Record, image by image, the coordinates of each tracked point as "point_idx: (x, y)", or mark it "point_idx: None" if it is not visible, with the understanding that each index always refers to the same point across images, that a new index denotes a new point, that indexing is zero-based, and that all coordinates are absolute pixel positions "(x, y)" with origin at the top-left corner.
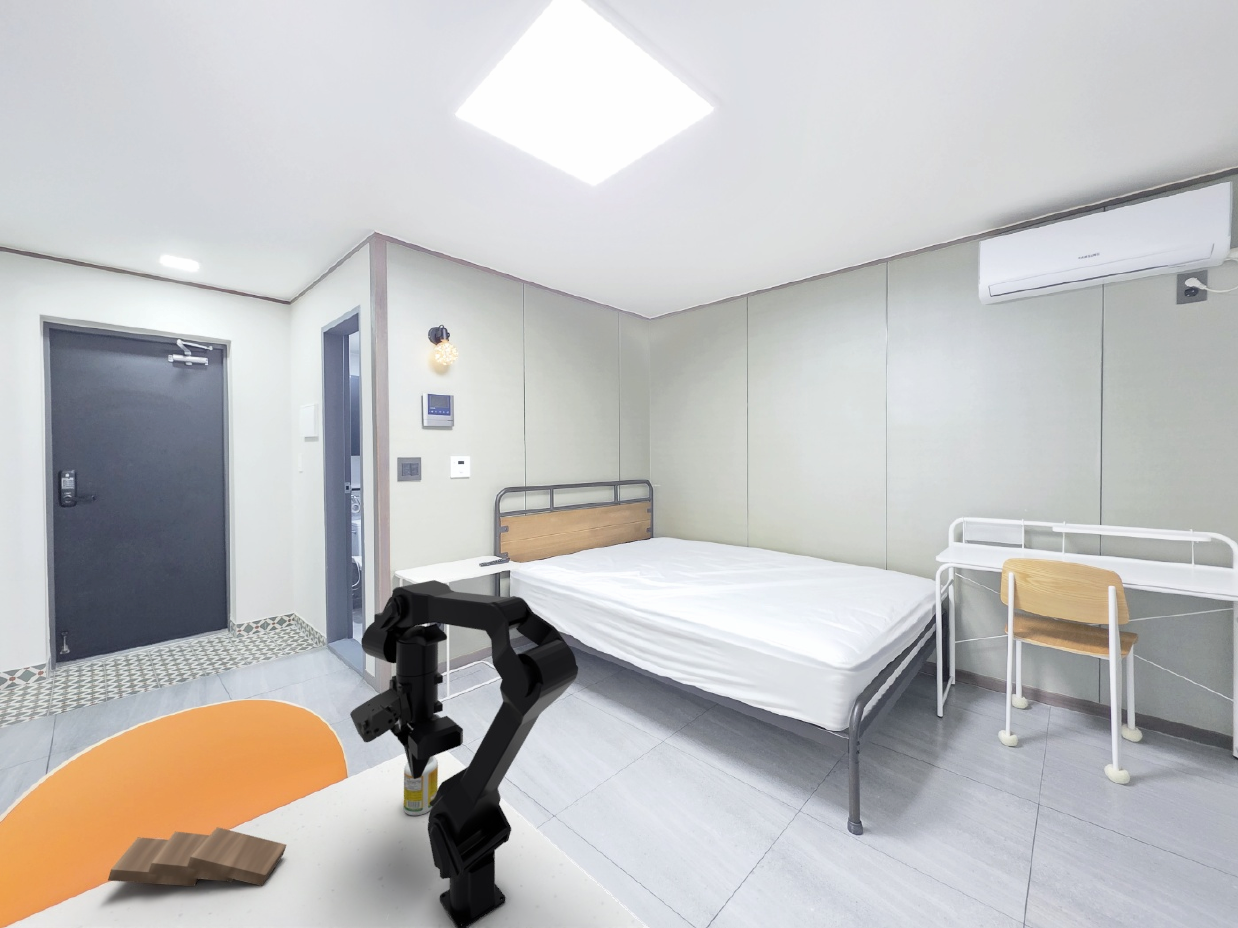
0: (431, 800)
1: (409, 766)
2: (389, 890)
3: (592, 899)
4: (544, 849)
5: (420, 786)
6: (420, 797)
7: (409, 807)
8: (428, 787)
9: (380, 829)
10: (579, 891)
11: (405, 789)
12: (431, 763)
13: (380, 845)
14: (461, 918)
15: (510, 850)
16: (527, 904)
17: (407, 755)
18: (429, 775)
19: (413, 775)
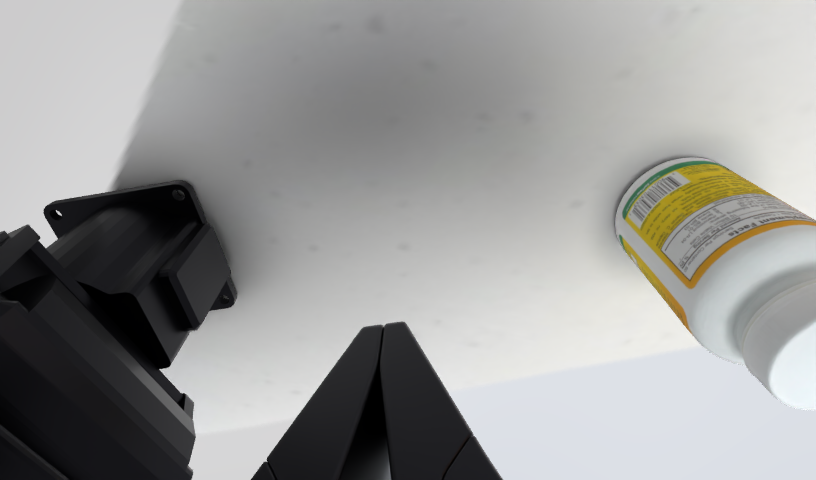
0: (630, 254)
1: (411, 363)
2: (299, 46)
3: None
4: (260, 424)
5: (670, 254)
6: (646, 231)
7: (660, 179)
8: (655, 274)
9: (651, 58)
10: None
11: (725, 194)
12: (724, 345)
13: (555, 46)
14: (76, 218)
15: (296, 368)
16: None
17: (406, 444)
18: (679, 308)
19: (352, 344)
